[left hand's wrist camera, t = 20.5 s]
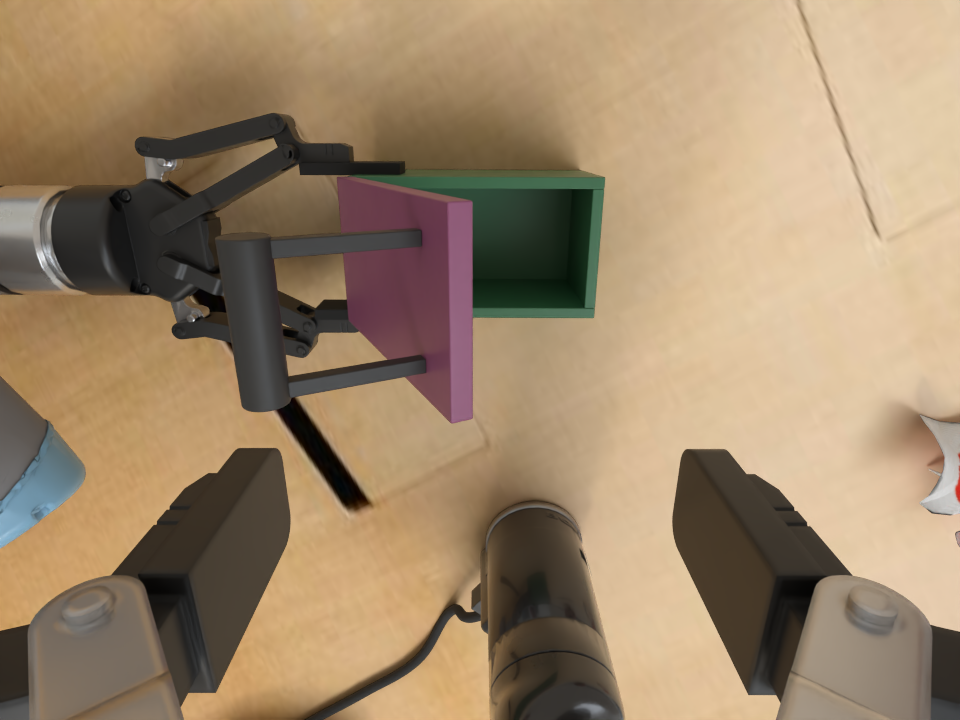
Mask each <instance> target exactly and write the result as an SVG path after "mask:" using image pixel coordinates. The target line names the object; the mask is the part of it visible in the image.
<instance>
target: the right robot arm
mask: <svg viewBox="0 0 960 720" xmlns="http://www.w3.org/2000/svg"><path fill="white" fill-rule="evenodd" d="M272 138H274V140H275V142H276V144H277V146H278V148H276V149H274V150H273V151H271V152H269V153H268V154H266V155H264V156H262V157H261V158H259V159H257V160H256V161H254V162H252V163H250V164H249V165H247V166H245V167H244V168H242V169H240V170H238V171H237V172H235V173H233V174H232V175H230V176H228V177H226V178H225V179H223V180H221V181H220V182H218V183H216V184H214V185H213V186H211V187H209V188H208V189H206V190H204V191H201V192H199V193H197V194H195V195H193V196H192V195H191V194H189V193H188V192H186V191H185V190H183V189H182V188H180V187H179V186H177V185H176V184H174V183H173V182H171V181H170V180H168V176H169V174H170V173H171V172H172V171H175V170H179V169H181V167H182V166H183V159H188V158H198V157H203V156H207V155H210V154H214V153H218V152H222V151H226V150H230V149H233V148H237V147H241V146H245V145H249V144H252V143H256V142H260V141H264V140H268V139H272ZM135 148H136V151H137V152H138V153H139V154H140V155H141V156H144V157H145V167H146V179H145V180H143V181H141V182H140V183H138V184H136V185H79V186H75V187H71V186H68V185H6V186H0V295H12V294H14V295H85V294H91V295H153V296H157V297H160V298H162V299H164V300H166V301H169V302H171V305H172V308H173V311H174V314H175V317H176V320H177V323H176V324H175V325H174V326H173V327H172V333H173V335H174V336H175V337H176V338H178V339H189V338H198V337H209V338H213V339H218V340H222V341H227V342H231V336H230V330H229V324H228V317H227V313H222V312H209V309H208V307H206V306H203V305H197V304H195V303H193V302H192V300H191V299H190V296H191V295H192V294H194V293H195V292H196V291H197V290H198V289H202V290H205V291H207V292H209V293H211V294H214V295H221V296H224V293H223V286H222V280H221V274H220V268H219V262H218V256H217V249H216V243H215V238H216V237H218V236H221V223H220V217H216V215H215V213H216V212H218V211H219V210H221V209H223V208H225V207H226V206H228V205H229V204H230V203H232V202H233V201H235V200H237V199H239V198H240V197H242V196H244V195H246V194H247V193H249V192H251V191H253V190H254V189H256V188H258V187H260V186H261V185H263V184H265V183H267V182H268V181H270V180H272V179H274V178H275V177H277V176H279V175H281V174H282V173H284V172H286V171H288V170H289V169H291V168H293V167H295V166H296V165H298V164H299V169H300V175H401V174H403V173H405V161H354V156H353V147H352V146H350V145H348V144H345V143H306V142H304V141H303V140H302V139H301V138H300V137H299V135H298V133H297V130H296V128H295V121H294V119H293V118H292V117H291V116H289V115H284V114H277V113H271V114H267V115H263V116H259V117H255V118H252V119H248V120H244V121H240V122H237V123H233V124H229V125H225V126H222V127H218V128H214V129H210V130H206V131H203V132H199V133H195V134H191V135H188V136H184V137H180V138H176V139H174V138H166V137H139V138H138V139H137V140H136V141H135ZM278 298H279V306H280V314H281V322H282V323H283V324H285V325H287V326H289V327H286V326H282V330H283V338H284V346H285V353H286V355H291V356H295V357H300V358H304V357H306V356H307V355H308V354H309V353H310V352H311V350H312V349H313V348H314V347H315V345H316V344H317V342H318V335H319V333H323V332H332V333H341V332H343V333H347V332H348V333H356V332H358V331H359V330H358V329H357V328H356V327H355V326H354V325H353V324H352V323H351V322H350V321H349V319H348V307H347V300H323V301H322V302H321V303H320V304H319V305H318V306H317V307H316V308H314V307H312V306H310V305H308V304H305V303H303V302H301V301H299V300H297V299H295V298H293V297H291V296H289V295H286V294H284V293H282V292H280V291H278ZM290 327H291V328H290ZM231 343H232V342H231ZM85 474H86V471H85V467H84V464H83V463H82V461H81V460H80V459H79V458H78V457H77V455H76V454H75V453H74V452H73V451H72V449H71V448H70V447H69V446H68V445H67V443H66V442H65V441H64V440H63V439H62V438H61V436H60V435H59V434H58V433H57V432H56V430H55V429H54V427H53V425H52V424H51V423H50V422H49V421H47V420H45V419H43V418H42V417H41V416H40V415H39V414H38V413H37V412H36V411H35V410H34V409H33V408H32V407H31V406H30V405H29V404H28V403H27V402H26V401H25V400H24V399H23V398H22V397H21V396H20V395H19V394H18V393H17V392H16V391H15V390H14V389H13V388H12V387H11V386H10V385H9V384H8V383H7V382H6V381H5V380H4V379H3V378H2V377H1V376H0V548H2V547H3V546H5V545H7V544H8V543H10V542H11V541H13V540H14V539H16V538H17V537H19V536H20V535H22V534H23V533H24V532H26V531H27V530H29V529H30V528H31V527H33V526H34V525H35V524H37V523H38V522H39V521H40V520H41V519H42V518H44V517H45V516H46V515H48V514H49V513H50V512H52V511H53V510H55V509H56V508H58V507H59V506H60V505H61V504H63V503H64V502H65V501H66V500H67V499H68V498H69V497H71V496H72V495H73V494H74V493H75V492H76V491H77V490H78V489H79V488H80V486H81V485H82V483H83V482H84V479H85Z"/></svg>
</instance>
